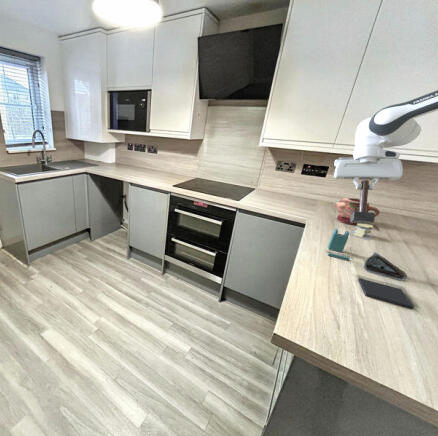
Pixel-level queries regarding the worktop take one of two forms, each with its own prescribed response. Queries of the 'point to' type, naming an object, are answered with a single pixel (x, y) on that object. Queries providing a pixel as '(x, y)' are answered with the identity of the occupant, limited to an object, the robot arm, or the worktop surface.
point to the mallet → (363, 207)
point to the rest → (338, 244)
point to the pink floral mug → (350, 209)
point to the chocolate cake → (384, 267)
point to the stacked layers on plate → (362, 231)
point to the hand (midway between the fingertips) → (364, 189)
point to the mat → (385, 293)
